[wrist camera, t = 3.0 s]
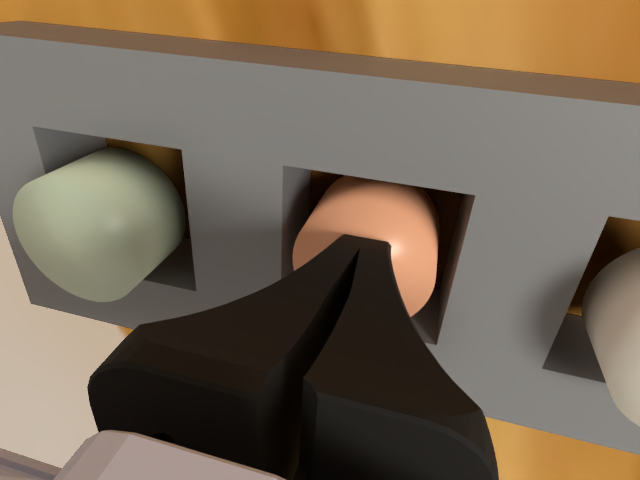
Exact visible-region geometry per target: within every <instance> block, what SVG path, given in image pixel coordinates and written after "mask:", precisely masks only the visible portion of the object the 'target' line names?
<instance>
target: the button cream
mask: <svg viewBox="0 0 640 480" xmlns="http://www.w3.org/2000/svg"><path fill="white" fill-rule="evenodd" d="M582 318H583V322H584V325H585V327H586V330H587V333H588V335H589V338H590V341H591V344H592V346H593V349H594V352H595V354H596V357H597V360H598V362H599V365H600V368H601V370H602V373H603V376H604V378H605V381H606V384H607V387H608V389H609V392H610V394H611V397H612V399H613V401H614V403H615V404H616V406H617V408H618V409H619V410H620V411H621V412H622V413H623V414H624V415H625V416H626V417H627V418H628V419H629V420H631V421H632V422H633V423H635V424H637V425H638V426H640V247H639V248H637V249H634V250H632V251H629V252H627V253H625V254H623V255H621V256H620V257H618V258H616V259H615V260H613V261H612V262H610V263H609V264H608V265H607V266H605V267H604V268H603V269H602V270H601V271H600V272H599V273H598V274H597V275H596V276H595V277H594V279H593V280H592V281H591V283H590V284H589V286H588V288H587V290H586V292H585V294H584V297H583V302H582Z"/></svg>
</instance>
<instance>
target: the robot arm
mask: <svg viewBox="0 0 640 480" xmlns="http://www.w3.org/2000/svg"><path fill="white" fill-rule="evenodd" d="M391 247H392V246H391V245H390V243H389V242H386V241H381V240H375V239H370V238H364V237H359V236H353V235H348V234H343V235H342V236H340V237H339V238H338V239H336V240H335V241H334V242H333V243H331V244H330V245H329V246H328V247H327V248H325V249H324V250H323V251H321V252H320V253H319V254H318V255H316V256H315V257H314V258H312V259H311V260H309V261H308V262H307V263H305V264H304V265H303V266H301V267H300V268H298V269H296V270H295V271H293V272H292V273H290V274H289V275H287V276H285V277H284V278H282V279H281V280H279V281H277V282H275V283H273V284H271V285H269V286H267V287H265V288H263V289H261V290H259V291H257V292H255V293H252V294H250V295H247V296H245V297H242V298H240V299H237V300H234V301H232V302H229V303H227V304H224V305H221V306H218V307H215V308H211V309H208V310H205V311H201V312H197V313H194V314H190V315H186V316H181V317H177V318H171V319H166V320H161V321H156V322H151V323H145V324H140V325H138V326H137V327H136V328H135V329H134V330H133V331H132V332H131V333H130V334H129V335H128V336H127V337H126V338H125V339H124V340H123V341H122V342H121V343H120V344H119V346H118V347H117V348H116V349H115V350H114V351H113V352H112V353H111V354H110V355H109V356H108V358H107V359H106V360H105V361H104V362H103V363H102V364H101V365H100V366H99V368H97V370H96V371H95V372H94V373H93V374H92V375H91V376H90V380H89V384H88V395H89V401H90V406H91V409H92V412H93V415H94V419H95V422H96V425H97V428H98V431H99V433H98V434H96V435H94V436H92V437H91V438H89V439H86V440H85V441H84V443H83V444H82V445H81V446H80V448H79V449H78V450H77V451H76V452H75V454H74V455H73V456H72V457H71V459H70V460H69V461H68V462H67V463H66V465H65V466H64V467H63V468H62V469H61V468H58V467H55V466H52V465H49V464H46V463H43V462H40V461H37V460H34V459H31V458H28V457H25V456H22V455H19V454H16V453H13V452H10V451H7V450H4V449H1V448H0V480H499V477H498V467H497V461H496V457H495V452H494V447H493V443H492V440H491V436H490V432H489V429H488V426H487V423H486V419H485V416H484V413H483V411H482V409H481V408H480V407H479V406H478V405H477V404H476V403H475V402H474V401H473V400H472V399H471V398H470V397H469V396H468V395H467V394H466V393H465V392H464V391H463V390H462V389H461V388H460V387H459V386H458V385H457V384H456V383H455V382H454V381H453V380H452V379H451V378H450V376H449V375H448V374H447V373H446V372H445V370H444V369H443V368H442V367H441V365H440V364H439V363H438V361H437V360H436V358H435V357H434V356H433V354H432V353H431V351H430V350H429V349H428V347H427V346H426V344H425V343H424V341H423V339H422V338H421V336H420V334H419V333H418V331H417V329H416V327H415V325H414V323H413V322H412V320H411V318H410V316H409V313H408V311H407V309H406V307H405V304H404V302H403V299H402V297H401V294H400V291H399V288H398V285H397V282H396V278H395V275H394V271H393V266H392V260H391Z"/></svg>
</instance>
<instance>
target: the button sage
mask: <svg viewBox="0 0 640 480" xmlns="http://www.w3.org/2000/svg"><path fill="white" fill-rule="evenodd" d="M13 222H14V227H15V230H16V233H17V236H18V239H19V241H20V243H21V245H22V247H23V248H24V250H25V252H26V253H27V255H28V256H29V258H30V259H31V260H32V262H33V263H34V264H35V265H36V266H37V268H38V269H39V270H40V271H41V272H42V273H43V274H44V275H45V276H46V277H48V278H49V279H50V280H51V281H52V282H54V283H55V284H56V285H58V286H59V287H61V288H62V289H64V290H66V291H67V292H69V293H71V294H73V295H75V296H78V297H80V298H83V299H86V300H90V301H95V302H111V301H115V300H118V299H121V298H123V297H124V296H126V295H127V294H128V293H129V292H130V291H131V290H132V289H133V288H134V287H136V286H137V285H138V284H139V283H140V282H141V281H142V280H143V279H144V278H145V277H146V276H147V275H148V274H149V273H150V272H152V271H153V270H154V269H155V268H156V267H157V266H158V265H159V264H160V263H161V262H162V261H163V260H164V259H165V258H166V257H168V256H169V255H170V254H171V253H172V252H173V251H174V250H175V249H176V248H177V247H178V246H179V244H180V243H181V241H182V239H183V237H184V234H185V229H186V215H185V209H184V206H183V203H182V200H181V198H180V195H179V193H178V191H177V190H176V188H175V186H174V185H173V183H172V182H171V180H170V179H169V178H168V177H167V176H166V174H165V173H164V172H163V171H162V170H161V169H160V168H159V167H158V166H156V165H155V164H154V163H153V162H151V161H150V160H148V159H147V158H145V157H144V156H142V155H140V154H138V153H135V152H133V151H130V150H127V149H122V148H105V149H100V150H98V151H96V152H93V153H91V154H89V155H87V156H85V157H83V158H80V159H78V160H76V161H74V162H72V163H70V164H67V165H65V166H63V167H61V168H59V169H57V170H54V171H52V172H50V173H48V174H46V175H44V176H41V177H39V178H37V179H35V180H33V181H31V182H28V183H27V184H25V185H24V186H23V187H22V188H21V189H20V190H19V191H18V193H17V195H16V197H15V200H14V203H13Z"/></svg>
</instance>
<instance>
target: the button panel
mask: <svg viewBox="0 0 640 480" xmlns="http://www.w3.org/2000/svg"><path fill="white" fill-rule="evenodd" d="M106 138H111V139H117V140H124V141H130V142H136V143H143V144H149V145H156V146H162V147H169V148H175V149H181V150H182V159H183V168H184V178H185V187H186V197H187V206H188V216H189V225H190V235H191V239H187V238H183V239H182V241H181V243H180V244H179V246H178V247H177V248H176V249H175V250H174V251H173V252H172V253H171V254H170V255H169V256H168V257H166V258H165V259H164V260H163V261H162V262H161V263H160V264H159V265H158V266H157V267H156V268H155V269H154V270H153V271H152V272H150V273H149V274H148V275H147V276H146V277H145V278H144V279H143V280H142V281H141V282H140V283H139V284H138V285H137V286H136V287H134V288H133V289H132V290H131V291H130V292H129V293H128V294H127V295H126V296H124V297H123V298H121V299H118V300H115V301H111V302H95V301H90V300H86V299H83V298H80V297H78V296H75V295H73V294H71V293H69V292H67V291H66V290H64V289H62V288H61V287H59V286H58V285H56V284H55V283H54V282H52V281H51V280H50V279H49V278H48V277H46V276H45V275H44V274H43V273H42V272H41V271H40V270H39V269H38V268H37V266H36V265H35V264H34V263H33V262H32V260H31V259H30V258H29V256H28V255H27V253H26V252H25V250H24V248H23V247H22V245H21V243H20V241H19V239H18V236H17V233H16V230H15V227H14V222H13V203H14V200H15V197H16V195H17V193H18V191H19V190H20V189H21V188H22V187H23V186H24V185H25V184H27V183H28V182H31V181H33V180H35V179H37V178H39V177H41V176H44V175H46V174H48V173H50V172H52V171H54V170H57V169H59V168H61V167H63V166H65V165H67V164H70V163H72V162H74V161H76V160H78V159H80V158H83V157H85V156H87V155H89V154H91V153H93V152H96V151H98V150H100V149H105V148H108V147H107V142H106ZM311 170H316V171H322V172H329V173H335V174H342V175H348V176H355V177H361V178H367V179H374V180H380V181H387V182H393V183H399V184H406V185H412V186H419V187H425V188H432V189H438V190H444V191H451V192H457V193H463V196H462V200H461V204H460V208H459V212H458V217H457V221H456V225H455V229H454V233H453V237H452V241H451V245H450V249H449V254H448V258H447V262H446V266H445V270H444V274H443V278H442V282H441V286H440V289H439V288H434V289H433V292H432V294H431V296H430V298H429V299H428V301H427V302H426V304H425V305H424V306H423V307H422V308H421V309H420V310H419V311H418V312H417V313H415V314H414V315H413V316H411V317H410V318H411V320H412V322H413V323H414V325H415V327H416V329H417V331H418V333H419V334H420V336H421V338H422V339H423V341H424V343H425V344H426V346H427V347H428V349H429V350H430V351H431V353H432V354H433V356H434V357H435V358H436V360H437V361H438V363H439V364H440V365H441V367H442V368H443V369H444V370H445V372H446V373H447V374H448V375H449V376H450V378H451V379H452V380H453V381H454V382H455V383H456V384H457V385H458V386H459V387H460V388H461V389H462V390H463V391H464V392H465V393H466V394H467V395H468V396H469V397H470V398H471V399H472V400H473V401H474V402H475V403H476V404H477V405H478V406H479V407H480V408H481V409H482V411H483V413H484V416H485V417H489V418H493V419H497V420H501V421H505V422H509V423H513V424H517V425H521V426H525V427H529V428H533V429H537V430H541V431H545V432H549V433H553V434H558V435H562V436H566V437H570V438H574V439H578V440H582V441H586V442H590V443H594V444H598V445H602V446H606V447H610V448H614V449H618V450H622V451H626V452H630V453H634V454H638V455H640V426H638V425H637V424H635V423H633V422H632V421H631V420H629V419H628V418H627V417H626V416H625V415H624V414H623V413H622V412H621V411H620V410H619V409H618V408H617V406H616V404H615V403H614V401H613V399H612V397H611V394H610V392H609V389H608V387H607V384H606V381H605V378H604V376H603V373H602V370H601V368H600V365H599V362H598V360H597V357H596V354H595V352H594V349H593V346H592V344H591V341H590V338H589V335H588V333H587V330H586V327H585V325H584V322H583V318H582V317H580V316H575V315H570V314H566V312H567V310H568V308H569V305H570V303H571V301H572V298H573V296H574V294H575V292H576V289H577V287H578V285H579V282H580V280H581V278H582V276H583V273H584V271H585V269H586V267H587V264H588V262H589V260H590V257H591V255H592V253H593V251H594V248H595V246H596V244H597V241H598V239H599V237H600V235H601V232H602V230H603V228H604V226H605V223H606V221H607V219H608V216H611V217H618V218H624V219H630V220H637V221H640V84H639V83H629V82H619V81H609V80H599V79H589V78H580V77H570V76H560V75H550V74H540V73H530V72H520V71H511V70H501V69H491V68H481V67H471V66H461V65H451V64H442V63H432V62H422V61H412V60H402V59H392V58H382V57H372V56H363V55H353V54H343V53H333V52H323V51H313V50H303V49H294V48H284V47H274V46H264V45H254V44H244V43H234V42H225V41H215V40H205V39H195V38H185V37H175V36H165V35H155V34H146V33H136V32H126V31H116V30H106V29H96V28H86V27H77V26H67V25H57V24H47V23H37V22H27V21H14V22H2V23H0V216H1V219H2V222H3V225H4V227H5V230H6V233H7V236H8V239H9V242H10V244H11V247H12V250H13V253H14V256H15V259H16V262H17V264H18V268H19V270H20V273H21V276H22V279H23V282H24V285H25V287H26V290H27V293H28V296H29V299H30V302H31V304H35V305H39V306H43V307H47V308H51V309H55V310H59V311H63V312H67V313H71V314H75V315H79V316H83V317H87V318H91V319H95V320H99V321H103V322H107V323H111V324H115V325H119V326H123V327H127V328H131V329H135V328H136V327H137V326H138V325H140V324H145V323H151V322H156V321H161V320H166V319H171V318H177V317H181V316H186V315H190V314H194V313H197V312H201V311H205V310H208V309H211V308H215V307H218V306H221V305H224V304H227V303H229V302H232V301H234V300H237V299H240V298H242V297H245V296H247V295H250V294H252V293H255V292H257V291H259V290H261V289H263V288H265V287H267V286H269V285H271V284H273V283H275V282H277V281H279V280H281V279H282V278H284V277H285V276H287V275H289V274H290V273H292V272H293V271H294V268H293V248H294V244H295V241H296V239H297V236H298V234H299V233H300V231H301V229H302V228H303V226H304V225H305V223H306V222H307V220H308V218H309V208H310V188H311Z"/></svg>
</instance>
